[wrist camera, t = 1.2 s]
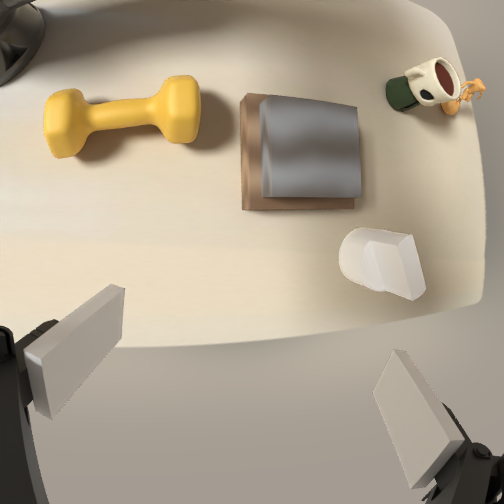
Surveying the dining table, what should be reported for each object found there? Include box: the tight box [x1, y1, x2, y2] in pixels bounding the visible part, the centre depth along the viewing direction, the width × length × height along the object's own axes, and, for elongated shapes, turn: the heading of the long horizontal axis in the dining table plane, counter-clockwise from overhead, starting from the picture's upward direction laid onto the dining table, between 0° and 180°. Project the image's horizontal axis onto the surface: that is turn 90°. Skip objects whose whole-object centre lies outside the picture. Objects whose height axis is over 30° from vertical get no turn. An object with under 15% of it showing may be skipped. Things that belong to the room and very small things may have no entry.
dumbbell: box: [44, 75, 201, 159], centre depth 33 cm, size 19×9×8 cm, turn 93°
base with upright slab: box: [339, 227, 426, 301], centre depth 43 cm, size 9×9×12 cm
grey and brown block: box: [240, 93, 361, 210], centre depth 39 cm, size 15×15×8 cm
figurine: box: [441, 78, 486, 115], centre depth 45 cm, size 8×6×12 cm
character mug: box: [386, 57, 461, 112], centre depth 41 cm, size 11×7×13 cm, turn 86°
